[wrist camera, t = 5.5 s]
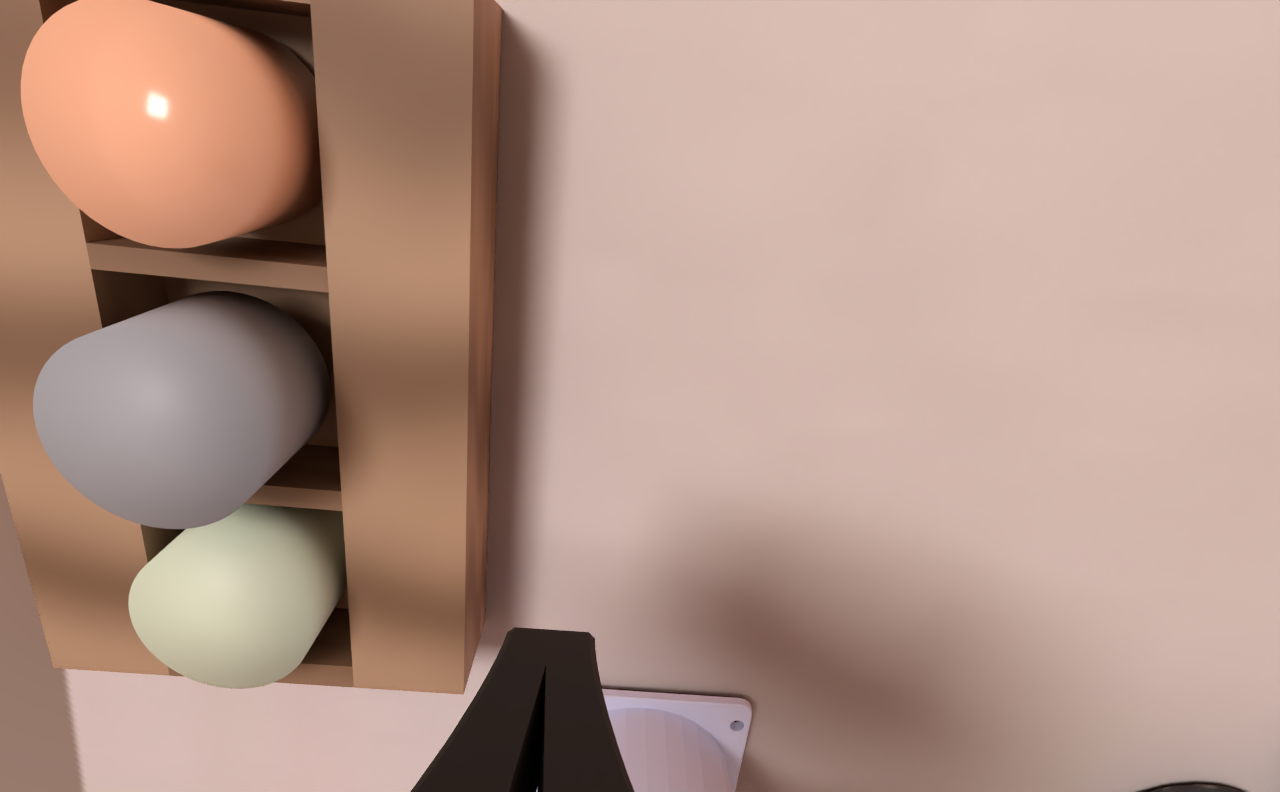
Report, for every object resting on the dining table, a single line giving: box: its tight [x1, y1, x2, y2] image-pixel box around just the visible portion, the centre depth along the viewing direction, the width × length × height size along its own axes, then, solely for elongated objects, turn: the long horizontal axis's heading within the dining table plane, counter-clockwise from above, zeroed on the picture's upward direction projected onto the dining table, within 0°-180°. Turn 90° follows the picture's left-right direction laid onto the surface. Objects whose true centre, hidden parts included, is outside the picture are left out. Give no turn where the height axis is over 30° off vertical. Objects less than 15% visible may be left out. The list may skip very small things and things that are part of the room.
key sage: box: [128, 503, 347, 689], centre depth 19 cm, size 5×5×4 cm
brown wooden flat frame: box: [0, 0, 502, 694], centre depth 18 cm, size 19×12×3 cm, turn 174°
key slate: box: [33, 291, 331, 529], centre depth 16 cm, size 5×5×4 cm
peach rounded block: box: [21, 0, 323, 248], centre depth 15 cm, size 5×5×4 cm
